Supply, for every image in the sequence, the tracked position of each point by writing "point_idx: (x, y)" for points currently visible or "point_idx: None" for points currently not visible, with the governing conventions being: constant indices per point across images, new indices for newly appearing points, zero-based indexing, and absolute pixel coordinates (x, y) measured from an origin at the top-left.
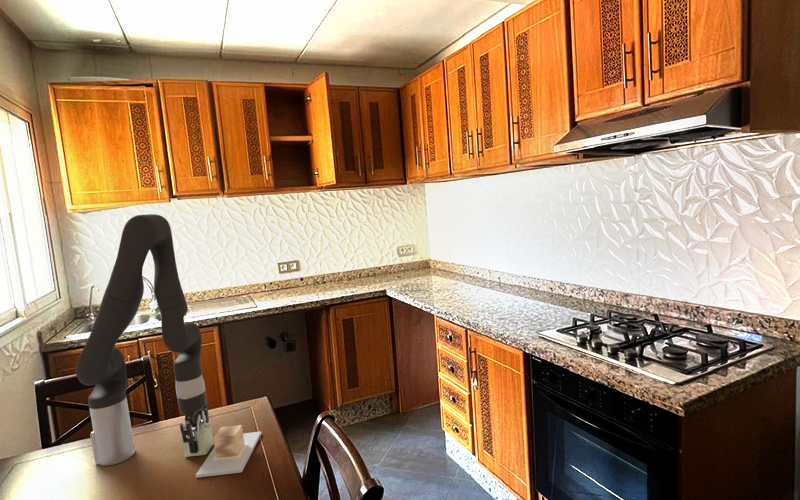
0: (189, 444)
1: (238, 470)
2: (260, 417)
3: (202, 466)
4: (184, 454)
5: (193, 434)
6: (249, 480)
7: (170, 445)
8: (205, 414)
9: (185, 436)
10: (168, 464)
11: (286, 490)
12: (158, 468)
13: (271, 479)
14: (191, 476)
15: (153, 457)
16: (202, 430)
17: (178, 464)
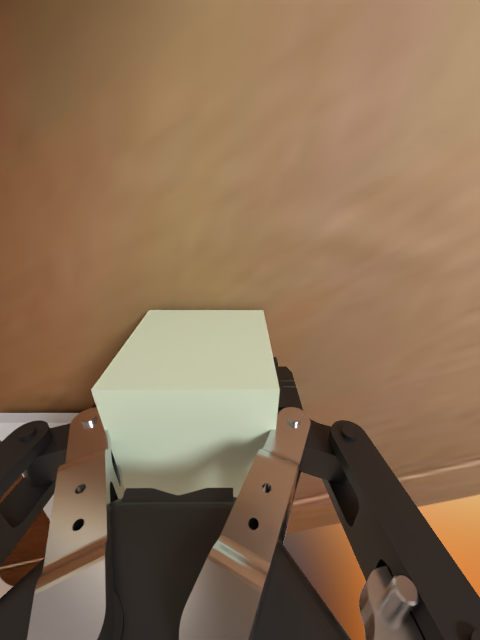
0: (95, 405)
1: (50, 515)
2: (434, 484)
3: (50, 427)
4: (144, 316)
5: (137, 449)
6: (29, 528)
7: (337, 122)
8: (354, 540)
9: (7, 475)
10: (90, 236)
11: (10, 578)
12: (43, 188)
13: (43, 557)
14: (12, 390)
15: (179, 48)
16: (191, 480)
17: (94, 296)
